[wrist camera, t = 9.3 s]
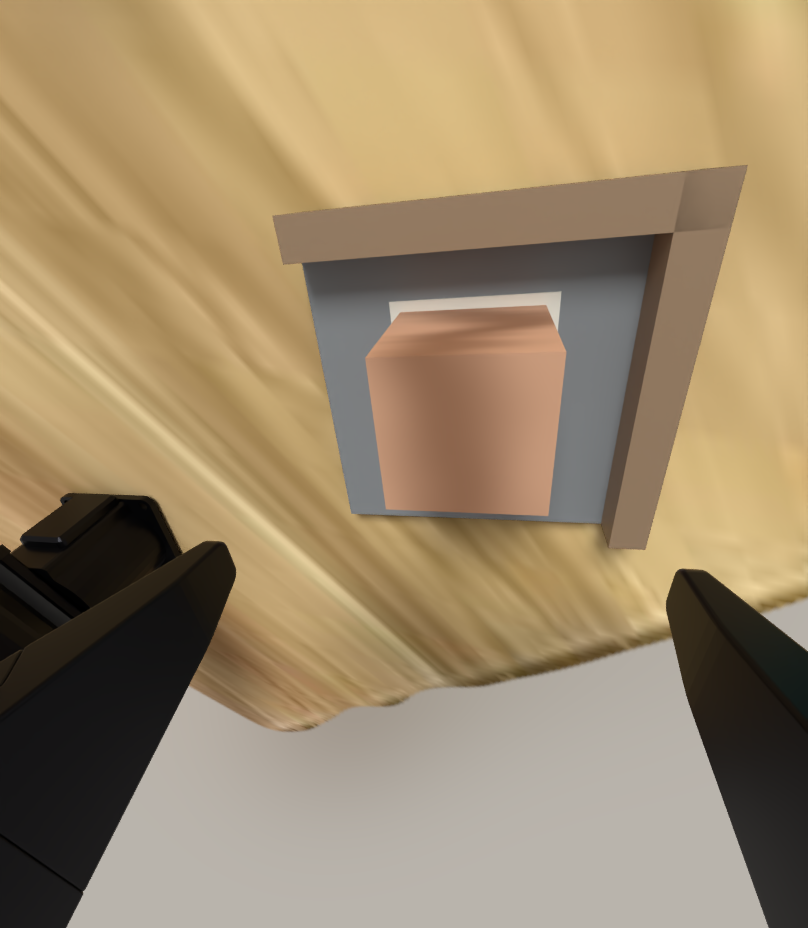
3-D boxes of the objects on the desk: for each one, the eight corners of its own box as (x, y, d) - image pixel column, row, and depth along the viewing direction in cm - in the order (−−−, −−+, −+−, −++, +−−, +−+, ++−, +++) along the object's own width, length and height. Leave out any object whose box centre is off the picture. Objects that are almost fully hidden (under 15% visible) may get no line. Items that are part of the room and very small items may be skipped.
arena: (630, 514, 21) (645, 549, 19) (355, 504, 24) (342, 534, 22) (709, 168, 14) (747, 164, 12) (300, 212, 17) (272, 215, 14)
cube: (546, 304, 16) (566, 351, 11) (535, 436, 19) (548, 515, 14) (400, 312, 17) (365, 358, 12) (410, 435, 20) (385, 509, 15)
